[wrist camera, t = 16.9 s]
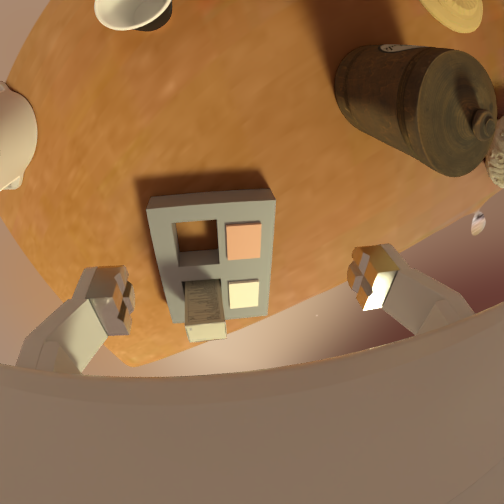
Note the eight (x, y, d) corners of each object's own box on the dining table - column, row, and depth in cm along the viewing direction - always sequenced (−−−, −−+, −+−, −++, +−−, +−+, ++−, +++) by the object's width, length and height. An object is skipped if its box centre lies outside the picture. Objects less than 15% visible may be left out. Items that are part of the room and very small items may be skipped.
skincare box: (188, 290, 52) (187, 343, 42) (184, 272, 49) (183, 326, 39) (221, 287, 52) (227, 340, 43) (219, 269, 50) (225, 322, 40)
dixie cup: (195, 11, 25) (191, -12, 16) (150, 51, 27) (128, 44, 18) (155, -19, 20) (138, -48, 12) (111, 21, 23) (79, 7, 14)
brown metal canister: (423, 75, 32) (531, 109, 15) (392, 147, 40) (489, 213, 23) (352, 28, 28) (470, 21, 10) (319, 111, 36) (418, 162, 18)
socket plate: (173, 307, 54) (173, 325, 50) (150, 197, 40) (145, 211, 36) (263, 300, 56) (267, 317, 53) (270, 188, 42) (276, 201, 38)
